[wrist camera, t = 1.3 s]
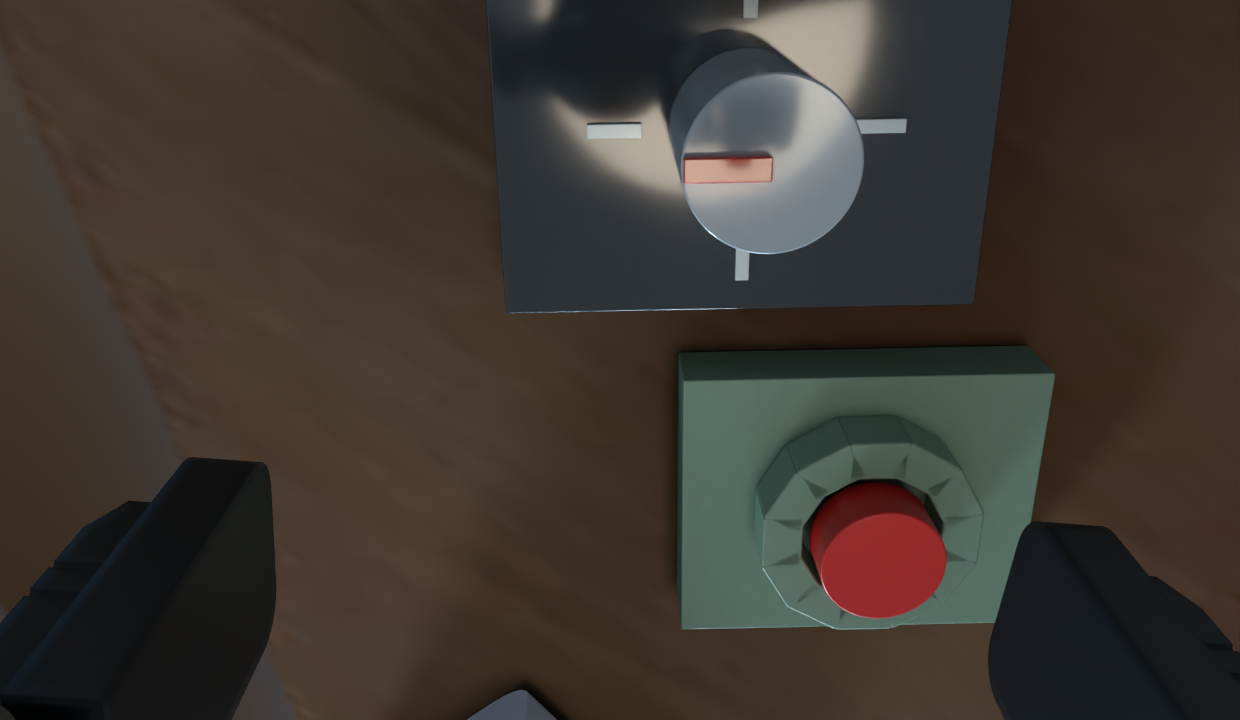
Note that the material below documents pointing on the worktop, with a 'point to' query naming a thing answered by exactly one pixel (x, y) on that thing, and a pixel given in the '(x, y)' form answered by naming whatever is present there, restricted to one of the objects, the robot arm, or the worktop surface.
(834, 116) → the burner knob
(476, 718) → the charger
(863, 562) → the button
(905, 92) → the panel
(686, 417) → the block
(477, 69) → the worktop surface
